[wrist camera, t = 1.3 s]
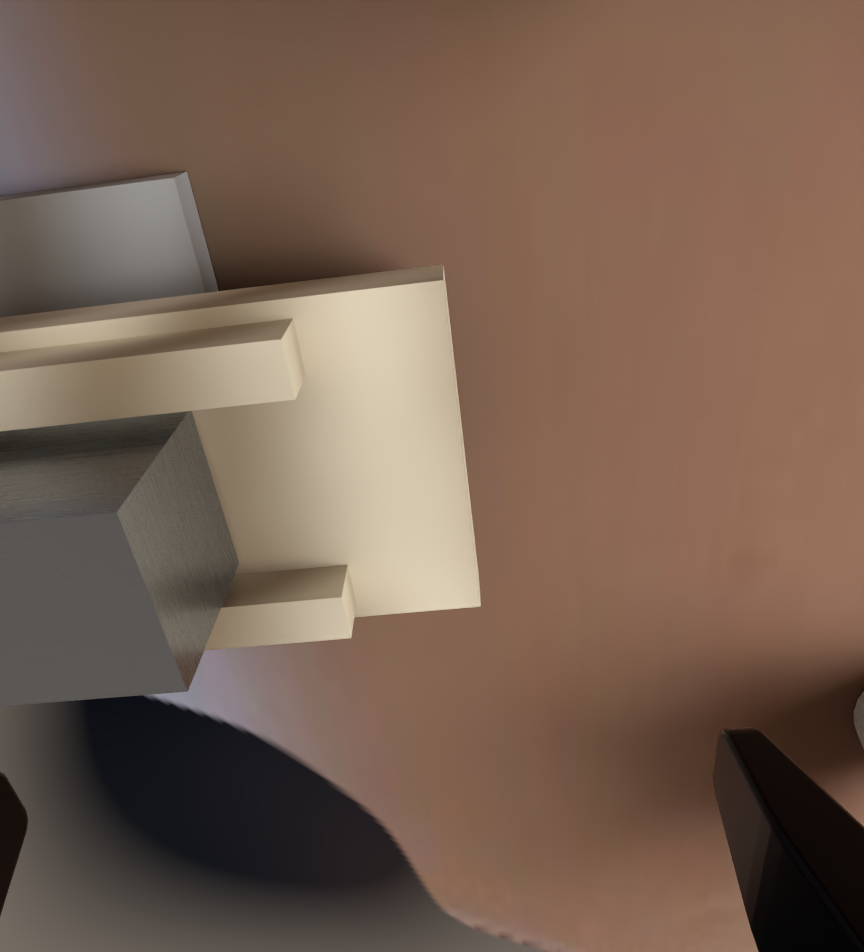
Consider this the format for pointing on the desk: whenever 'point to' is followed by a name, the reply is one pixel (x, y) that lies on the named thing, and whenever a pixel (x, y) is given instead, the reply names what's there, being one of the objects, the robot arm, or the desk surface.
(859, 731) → the house plant
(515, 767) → the desk surface
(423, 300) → the balance beam
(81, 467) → the block
